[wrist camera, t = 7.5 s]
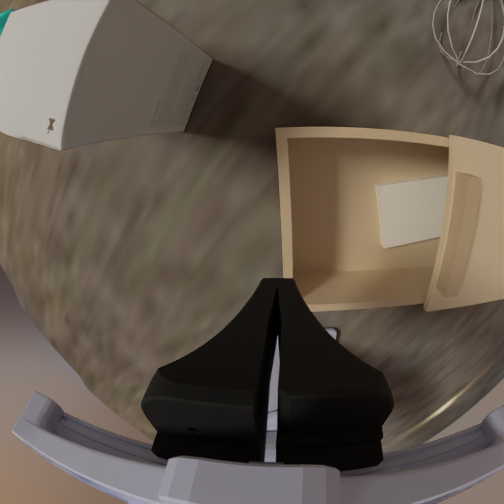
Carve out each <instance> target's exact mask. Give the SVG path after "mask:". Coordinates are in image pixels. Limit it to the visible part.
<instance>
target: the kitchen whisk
mask: <svg viewBox="0 0 504 504" xmlns="http://www.w3.org/2000/svg"><path fill="white" fill-rule="evenodd" d="M441 1H442V0H440V1H439V2H438V4H437V7H436V9H435V11H434V14H433V22H432V27H433V31H434V36H435V39H436V41H437V42H438V44H439V45H440V51H441V52H442V53H443V51H444V52H445V53H446V54H447V55H448V56H449V57H451V58H452V59H451V58H448V57H447V56H446V55H445V54H444V53H443V54H444V56H445V57H446V58H447V59H450V60H453V61H455V62H456V63H457V64H456V69H458V67H459V66H461V67H462V68H463V69H464V70H465V71H466V69H468V70H470V71H472V72H473V73H475V74H476V75H472V74H469V73H468V72H467V71H466V73H467V74H468V75H471V76H474V77H476V76H478V75H479V74H481V75H491V74H492V73H494V72H496V71H497V70H499V68H500V66H501V64H502V63H503V61H504V55H503V59H502V61H501V63H500V64H499V66H498V68H497V69H495V70H494V71H492V72H490V73H489V74H488V73H481V72H482V71H483V69H484V67H485V65H486V63H487V59H488V58H490V57H491V56H492V55H493V54H494V53H495V52H496V51H497V50H498V49H499V46H500V44H501V42H502V40H503V37H504V28H503V34H502V38H501V40H500V42H499V44H498V46H497V48H496V49H495V50H494V51H493V52H492V53H491V54H490V55H489V52H490V47H491V40H492V29H493V8H492V0H491V13H492V24H491V38H490V45H489V50H488V54H487V57H486V58H483V59H480V60H478V61H463V59H464V57H465V55H466V53H467V51H468V49H469V46H470V44H471V42H472V39H473V37H474V34H475V31H476V28H477V25H478V22H479V19H480V15H481V11H482V7H483V3H484V0H482V4H481V8H480V12H479V15H478V19H477V22H476V25H475V28H474V31H473V34H472V36H471V39H470V41H469V44H468V46H467V48H466V51H465V53H464V55H463V57H462V59H461V61H459V60H460V57H461V54H462V51H461V53H460V55H459V58H458V57H457V55H456V52H455V50H454V48H453V45H452V41H451V37H450V33H449V17H448V16H449V11H450V4H451V2H452V0H450V2H449V6H448V12H447V32H448V35H449V39H450V44H451V48H452V50H453V52H454V54H455V56H456V58H457V60H455V59H454V58H453V57H452V56H450V55H449V54H448V53H447V52H446V51H445V50H444V49H443V47H442V46H441V37H442V32H441V35H440V40H439V41H438V40H437V38H436V34H435V29H434V19H435V13H436V11H437V9H438V6H439V4H440V2H441ZM459 1H460V0H458V1H457V3H456V4H455V6H454V8H455V7H456V5H457V4H458V2H459ZM478 2H479V0H478V1H477V5H476V8H475V11H474V15H473V18H472V22H473V19H474V16H475V13H476V9H477V6H478ZM499 2H500V0H499ZM501 3H502V5H501ZM500 5H501V9H502V13H503V18H504V7H503V2H502V0H501V2H500ZM472 22H471V24H472ZM442 50H443V51H442ZM483 60H486V61H485V63H484V65H483V67H482V69H481V71H480V72H479V73H476V72H475V71H473V70H471V69H469V68H467V67H465V66H463V65H462V64H461V63H478V62H480V61H483ZM465 68H466V69H465Z"/></svg>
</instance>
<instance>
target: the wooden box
mask: <svg viewBox="0 0 504 504" xmlns="http://www.w3.org/2000/svg"><path fill="white" fill-rule="evenodd" d="M275 133H276V146H277V160H278V175H279V191H280V209H281V229H282V252H283V278H293V279H294V280H295V282H296V285H297V288H298V290H299V292H300V294H301V296H302V297H303V299H304V301H305V302H306V304H307V306H308V307H309V309H310V310H311V312H314V311H336V310H353V309H368V308H381V307H393V306H403V305H413V304H422V303H425V299H426V296H427V293H428V289H429V285H430V281H431V278H432V274H433V269H434V265H435V261H436V256H437V251H438V246H439V241H440V237H436V238H432V239H427V240H422V241H418V242H413V243H408V244H404V245H399V246H394V247H389V248H385V249H384V248H383V247H382V245H381V239H380V225H379V213H378V203H377V194H376V186H375V184H379V183H385V182H392V181H398V180H405V179H412V178H419V177H426V176H434V175H441V174H448V164H449V138H447V137H441V136H435V135H428V134H421V133H414V132H405V131H396V130H385V129H372V128H355V127H283V128H275Z"/></svg>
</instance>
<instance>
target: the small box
mask: <svg viewBox="0 0 504 504" xmlns="http://www.w3.org/2000/svg"><path fill="white" fill-rule="evenodd" d="M211 63H212V58H211V57H210V56H209V55H207V54H206V53H205V52H204V51H203V50H202V49H200V48H199V47H198V46H197V45H195V44H194V43H193V42H192V41H191V40H189V39H188V38H187V37H186V36H184V35H183V34H182V33H181V32H180V31H178V30H177V29H176V28H174V27H173V26H172V25H170V24H169V23H168V22H166V21H165V20H164V19H162V18H161V17H160V16H158V15H157V14H155V13H154V12H152V11H151V10H150V9H148V8H147V7H145V6H144V5H142V4H141V3H139V2H138V1H136V0H46V1H42V2H39V3H36V4H32V5H29V6H26V7H23V8H20V9H18V10H15V11H12V12H11V13H10V15H9V17H8V20H7V22H6V24H5V27H4V29H3V31H2V34H1V37H0V131H1V132H3V133H4V134H6V135H9V136H12V137H16V138H19V139H25V140H29V141H32V142H35V143H38V144H41V145H45V146H48V147H51V148H54V149H56V150H60V151H63V150H67V149H72V148H76V147H81V146H86V145H91V144H96V143H101V142H106V141H112V140H119V139H125V138H132V137H138V136H145V135H153V134H163V133H177V132H184V130H185V127H186V124H187V122H188V119H189V116H190V113H191V111H192V108H193V105H194V103H195V100H196V98H197V95H198V93H199V90H200V88H201V85H202V83H203V81H204V78H205V76H206V74H207V71H208V69H209V67H210V65H211Z"/></svg>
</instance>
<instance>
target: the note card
mask: <svg viewBox="0 0 504 504" xmlns="http://www.w3.org/2000/svg"><path fill="white" fill-rule="evenodd" d="M447 180H448V174H441V175H434V176H426V177H419V178H412V179H405V180H398V181H392V182H385V183H379V184H375V186H376V194H377V203H378V213H379V225H380V239H381V245H382V247H383V248H384V249H385V248H389V247H394V246H399V245H404V244H408V243H413V242H418V241H422V240H427V239H432V238H436V237H440V236H441V230H442V223H443V217H444V209H445V201H446V192H447Z"/></svg>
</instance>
